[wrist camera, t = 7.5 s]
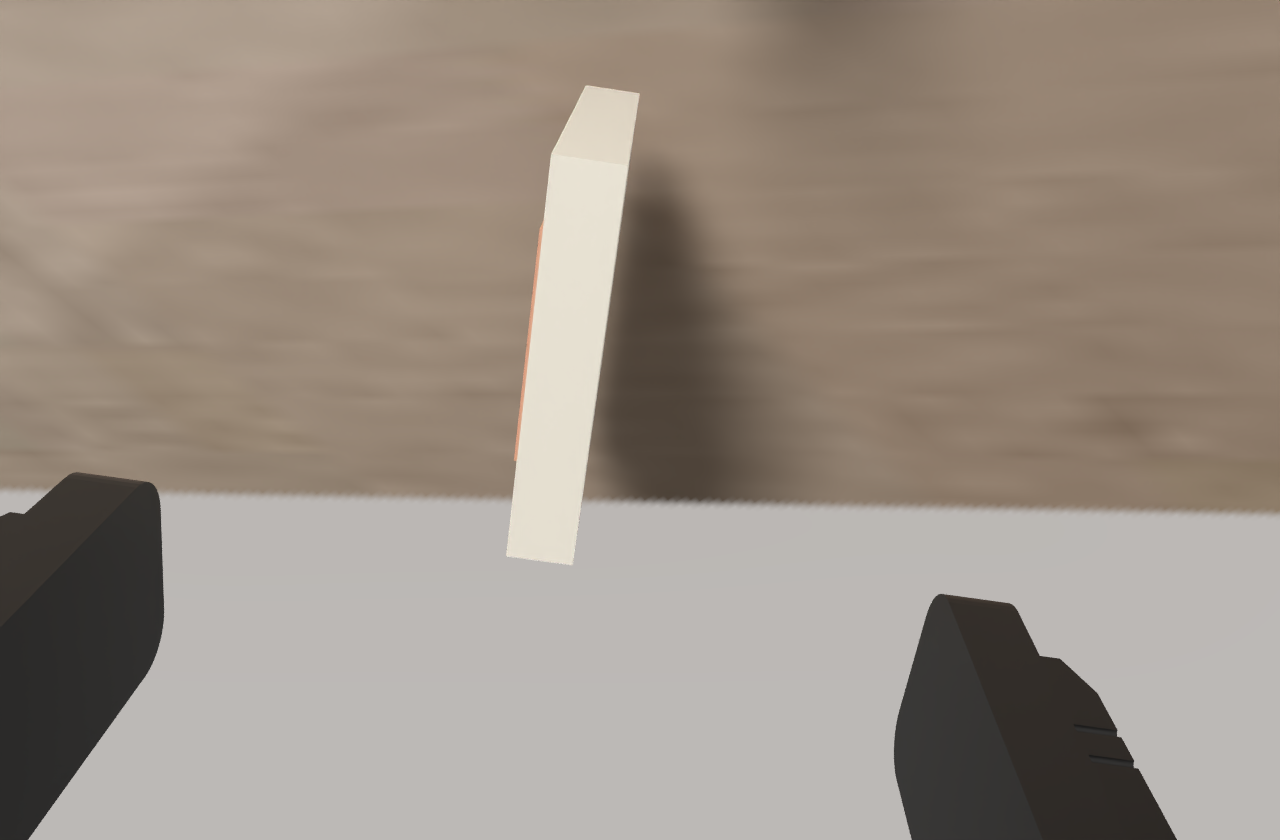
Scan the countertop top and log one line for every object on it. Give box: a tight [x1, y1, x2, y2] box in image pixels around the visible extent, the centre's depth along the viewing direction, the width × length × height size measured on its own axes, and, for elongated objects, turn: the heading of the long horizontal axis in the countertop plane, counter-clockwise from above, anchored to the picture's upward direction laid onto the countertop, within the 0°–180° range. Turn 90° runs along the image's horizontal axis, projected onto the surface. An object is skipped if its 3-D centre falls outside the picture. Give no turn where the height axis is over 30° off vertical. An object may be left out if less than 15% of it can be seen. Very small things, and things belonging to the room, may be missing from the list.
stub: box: [506, 85, 640, 565], centre depth 19 cm, size 6×1×7 cm, turn 172°
